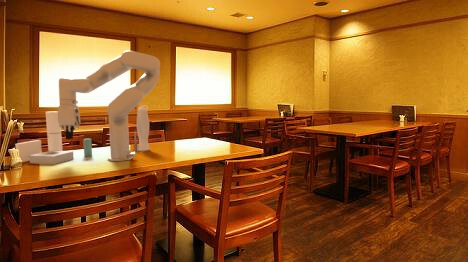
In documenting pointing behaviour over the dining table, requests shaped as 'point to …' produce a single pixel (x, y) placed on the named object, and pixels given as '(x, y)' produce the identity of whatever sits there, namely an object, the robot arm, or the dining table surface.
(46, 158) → the socket block
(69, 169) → the dining table surface
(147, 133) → the white bottle
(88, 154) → the dowel
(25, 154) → the wall
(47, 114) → the cylindrical container
